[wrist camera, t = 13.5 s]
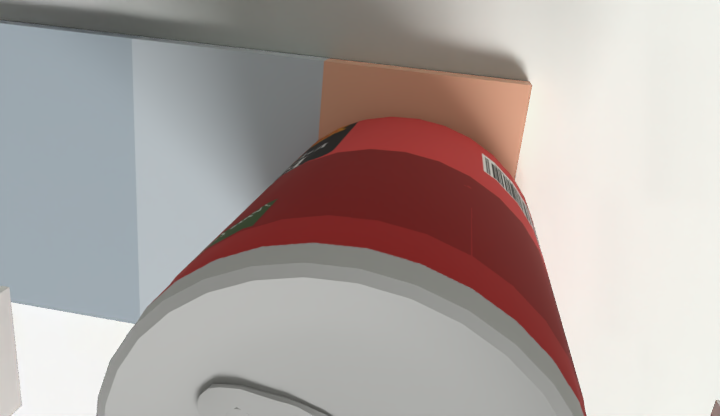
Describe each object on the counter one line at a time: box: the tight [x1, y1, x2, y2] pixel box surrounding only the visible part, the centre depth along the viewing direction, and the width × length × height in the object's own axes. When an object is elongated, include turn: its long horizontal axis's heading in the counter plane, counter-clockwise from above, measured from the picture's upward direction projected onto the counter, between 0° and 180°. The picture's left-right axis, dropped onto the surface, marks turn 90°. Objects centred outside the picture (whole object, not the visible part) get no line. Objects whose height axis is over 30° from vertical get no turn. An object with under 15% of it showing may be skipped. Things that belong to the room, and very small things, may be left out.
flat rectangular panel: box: [0, 20, 532, 324], centre depth 21 cm, size 18×10×1 cm, turn 85°
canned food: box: [97, 117, 586, 416], centre depth 15 cm, size 8×8×11 cm
